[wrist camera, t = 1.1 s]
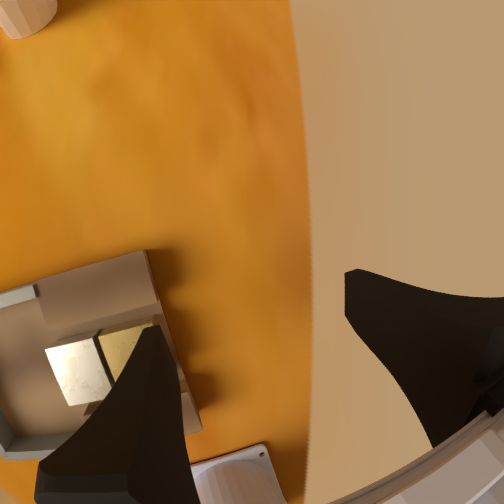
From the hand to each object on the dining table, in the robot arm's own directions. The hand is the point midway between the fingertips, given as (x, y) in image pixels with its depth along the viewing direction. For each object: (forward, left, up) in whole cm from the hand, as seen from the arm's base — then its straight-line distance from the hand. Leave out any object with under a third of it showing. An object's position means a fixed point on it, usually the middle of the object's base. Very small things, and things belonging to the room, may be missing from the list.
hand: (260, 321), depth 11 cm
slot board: (-2, +12, -11) cm, 17 cm away
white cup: (+29, +12, -11) cm, 33 cm away
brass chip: (-2, +6, -10) cm, 12 cm away
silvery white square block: (-2, +10, -10) cm, 14 cm away
